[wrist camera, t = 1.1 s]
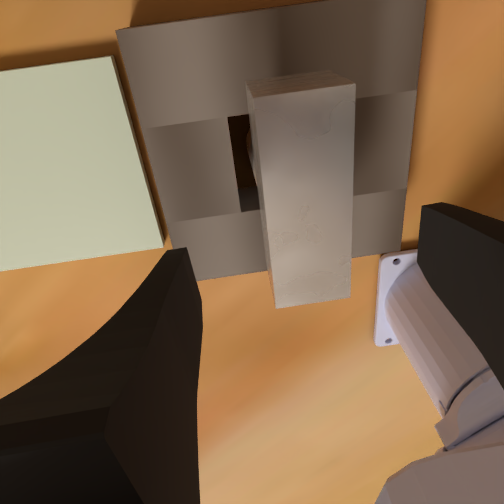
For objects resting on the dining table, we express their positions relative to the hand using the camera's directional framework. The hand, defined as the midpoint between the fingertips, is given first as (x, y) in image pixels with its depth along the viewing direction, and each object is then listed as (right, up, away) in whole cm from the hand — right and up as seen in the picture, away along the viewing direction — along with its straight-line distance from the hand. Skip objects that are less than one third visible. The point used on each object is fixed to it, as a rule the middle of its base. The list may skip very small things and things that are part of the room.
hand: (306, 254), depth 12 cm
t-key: (0, +6, +9) cm, 10 cm away
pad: (-12, +4, +8) cm, 16 cm away
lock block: (0, +6, +9) cm, 10 cm away
